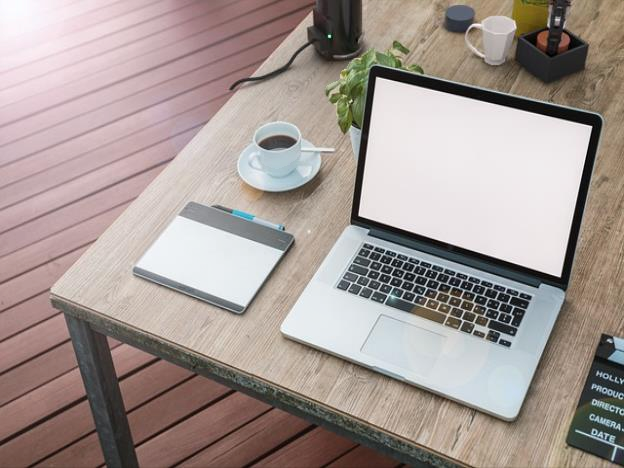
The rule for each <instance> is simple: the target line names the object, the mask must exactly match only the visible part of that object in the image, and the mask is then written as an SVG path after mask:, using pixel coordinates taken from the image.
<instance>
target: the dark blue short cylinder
mask: <svg viewBox="0 0 624 468" xmlns="http://www.w3.org/2000/svg"><path fill="white" fill-rule="evenodd" d="M444 12H445V13H444V27H445V28H446V29H448V30H450V31H452V32H456V33H462V32H467V30H468V28H469V27H470V26H471V25H472V24H475V16H476V12H475V9H474V8H473V7H471V6H469V5H465V4H454V5H451V6H449V7H447V8H446V9H445V11H444Z"/></svg>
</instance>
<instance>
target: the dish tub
mask: <svg viewBox="0 0 624 468" xmlns="http://www.w3.org/2000/svg"><path fill="white" fill-rule="evenodd" d="M547 30H549V27H548V26H545V27H542V28H539V29H537V30H534V31H531V32H529V33H526V34H524V35H521V36H518V39H517V38H516V45H515V52H514V62H515V63H517V64H518V65H519V66H521V67H522V68H523V69H525V70H526V71H528V72H529V73H530V74H531V75H533V76H534V77H535V78H537V79H538V80H540V81H541V82H542V83H543V84H544V85H548V84H550V83H552V82H554V81H558V80H559V79H562V78H564V77H568V76H569V75H573V74H575V73H578V72H579V71H582V70H584V69H585V66H586V62H587V57H588V54H589V53H588V52H589V49H590V43H589V42H586V41H585V40H583V39H582V38H581V37H579V36H577V35H576V34H574V33H573V32H572V31H570V30H569V29H567V28H566V27H565V28H564V29H563V31H562V32H563V33H565V34H567V35H568V36H569V38H570V43H569V48H568V51H566V52H564V53H561V54H559V55H556V56H554V57H551V58H550V57H549V56H548V55H546V54H545V53H543V52H542V51H541V50H539V49H538V48H536V42H537V37H538V35H539V34H540V33H541V32H543V31H547Z"/></svg>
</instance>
